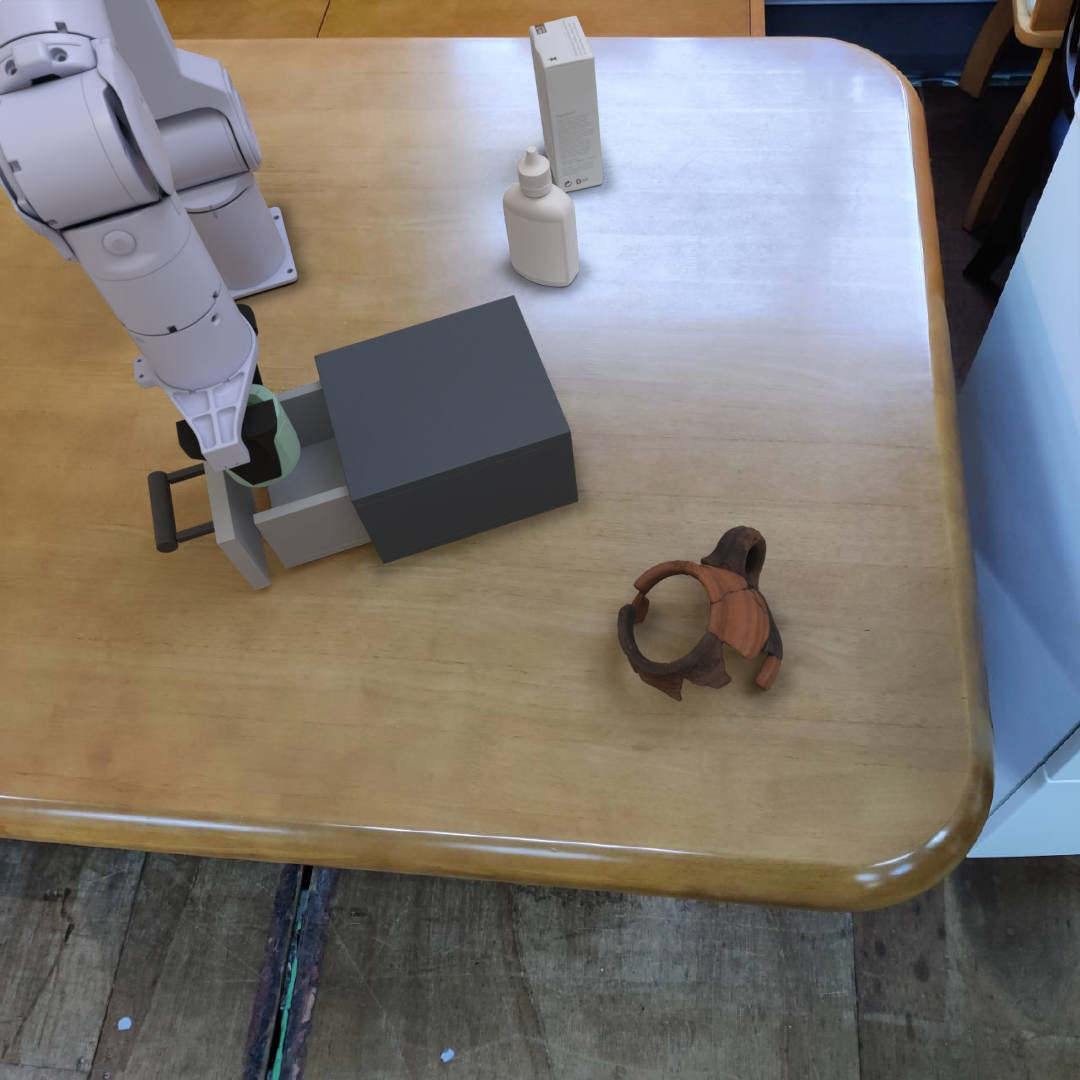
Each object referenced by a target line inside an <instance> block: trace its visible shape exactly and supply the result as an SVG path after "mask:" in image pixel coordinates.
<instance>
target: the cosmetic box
mask: <svg viewBox="0 0 1080 1080" xmlns="http://www.w3.org/2000/svg"><path fill="white" fill-rule="evenodd" d="M528 34H529V43H530V51H531V58H532V65H533V73H534V80H535V86H536V93H537V94H536V95H537V101H538V107H539V115H540V121H541V129H542V137H543V143H544V150H545V151H544V152H545V154H546V158H547V159H548V160H549V163H550V170H551V174H552V176H553V180H554V182H555V185H556V186H557V187H559V188H560V189H562V190H563V191H564V192H565V193H568V192H574V191H579V190H582V189H586V188H587V189H588V188H592V187H596V186H599V185H602V184H603V182H604V169H603V156H602V155H603V154H602V144H601V128H600V116H599V115H600V114H599V102H598V101H599V100H598V90H597V89H598V88H597V79H596V63H595V61H596V59H595V56H594V55H595V54H594V53H593V51H592V49H591V46H590V44H589V42H588V39H587V37H586V35H585V32H584V30H583V27H582V26H581V23H580V21H579V19H578V16H577V15H571V16H567V17H563V18H559V19H555V20H551V21H546V22H543V23H537V24H535V25H531V26H529V28H528Z"/></svg>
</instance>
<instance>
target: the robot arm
mask: <svg viewBox="0 0 1080 1080" xmlns="http://www.w3.org/2000/svg"><path fill="white" fill-rule="evenodd" d="M262 162H263V155H262V151H261V147H260V143H259V140H258V138H257V135H256V131H255V128H254V126H253V123H252V120H251V118H250V115H249V112H248V110H247V108H246V105H245V102H244V99H243V97H242V96H241V93H240V92H239V90H238V89H237V88H236V87H235V85H234V82H233V79H232V77H231V76H230V73H229V71H228V69H227V68H226V67H224V66H223V65H222V62H221V61H220V60H219V59H216V58H214V57H211V56H207V55H204V54H200V53H196V52H193V51H189V50H185V49H183V48H180V47H177V46H176V43H175V42H174V39H173V37H172V35H171V33H170V30H169V27H168V26H167V24H166V21H165V19H164V17H163V14H162V12H161V10H160V8H159V5H158V4H157V1H156V0H0V187H1V188H2V190H3V192H4V194H5V195H6V196H7V198H8V200H9V201H10V203H11V205H12V207H13V208H14V211H15V212H16V213H17V215H18V216H19V217H20V218H21V220H22V221H23V222H24V223H25V224H26V225H27V226H28V227H29V228H30V229H31V231H33V232H35V233H36V234H37V235H40V236H42V237H44V238H45V239H47V240H48V242H50V244H51V245H52V247H54V249H55V250H56V251H57V253H58V254H59V255H60V257H61V258H62V260H63V261H64V260H66V262H72V263H78V264H79V265H80V267H81V268H82V270H83V271H84V273H85V274H86V275H87V277H88V278H89V280H90V281H91V283H92V284H93V285H94V287H95V288H96V290H97V291H98V293H99V294H100V296H101V297H102V298H103V300H104V301H105V302H106V304H107V305H108V307H109V309H110V310H111V311H112V313H113V314H114V316H115V317H116V318H117V320H118V321H119V323H120V324H121V326H122V327H123V328H124V330H125V331H126V332H127V334H128V335H129V337H130V338H131V340H132V341H133V343H134V344H135V346H136V347H137V348H138V350H139V352H140V353H141V354H140V355H138V356H136V357H135V358H134V360H133V362H132V367H133V375H134V380H135V381H136V382H137V384H138V386H139V387H140V388H141V389H144V390H145V389H146V390H147V389H151V388H154V387H158V388H161V390H163V392H164V393H165V394H166V395H167V397H168V398H169V400H170V401H171V402H172V404H173V405H174V407H175V408H176V409H177V410H178V411H177V412H179V413H180V415H181V416H182V417H183V419H181V420H178V421H176V422H175V428H176V434H177V435H176V436H177V441H178V445H179V447H180V448H181V450H182V451H183V453H184V454H185V455H186V456H187V457H188V458H190V459H191V460H195V461H203V460H204V461H208V463H209V464H210V466H211V467H212V468H213V470H214V471H215V472H220V471H223V470H226V469H229V470H230V471H232V472H233V473H235V474H236V475H238V476H239V477H241V478H242V479H243V480H245V481H246V482H248V483H250V484H251V485H257V484H260V483H263V482H266V481H269V480H272V479H276V478H279V477H281V476H282V469H281V464H280V459H279V455H278V452H277V449H276V446H275V443H274V439H275V435H276V433H277V415H276V411H275V406H274V401H273V399H270V400H267V401H263V402H260V403H257V404H254V405H250V406H247V402H248V397H249V393H250V389H251V385H252V384H256V385H262V386H264V383H263V379H262V375H261V372H260V368H259V365H258V359H259V354H260V343H259V339H258V338H259V337H258V336H259V328H258V324H257V320H256V315H255V312H254V310H253V309H252V308H251V306H250V305H248V304H246V303H236V301H235V300H238V299H241V298H244V297H247V296H251V295H254V294H258V293H261V292H264V291H268V290H271V289H274V288H279V287H280V286H285V285H287V284H288V285H289V284H291V283H294V282H296V281H297V280H298V278H299V276H298V272H297V267H296V265H295V260H294V256H293V252H292V249H291V245H290V241H289V237H288V233H287V229H286V226H285V225H286V224H285V221H284V218H283V213H282V210H281V209H280V207H279V206H272V207H269V206H268V204H267V202H266V200H265V197H264V195H263V193H262V190H261V188H260V186H259V184H258V182H257V179H256V177H255V174H254V173H253V172H257V171H259V170H260V168H261V164H262ZM246 406H247V407H246Z"/></svg>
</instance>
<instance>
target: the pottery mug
mask: <svg viewBox="0 0 1080 1080" xmlns="http://www.w3.org/2000/svg"><path fill="white" fill-rule="evenodd" d="M766 557H767V542H766V539H765V537H764V536H763V535H762V533H761V531H759V530H757V529H755V528H754V527H751V526H746V525H738V526H734V527H732V528H729V529H728V530H727V531H725V532H724V533H723V535H722V536H721V537H720V539H719V540H718V541H717V544H716V546H715V547H714V549H713V550H712V551H711V552H710V553H709V554H708V555H707V556H706V555H705V556H704V557H701V559H700V564H698V563H696V562H694V561H690V560H683V559H682V560H681V559H680V560H679V559H675V560H668V561H663V562H660V563H658V564H656V565H654V566H652V567H651V568H649V569H647V570H645V571H644V572H643V573H642V574H641V575H640V576H638V577H637V579H636V580H635V581H634V582H633V585H632V586H633V587H634V588H635V589H636V590H637V591H638V593H636V596H635V597H634V599H633V600H632V601H631V603H626V604H624V605H623V606H622V607H620V609H619V611H618V615H617V624H616V626H617V638H618V643H619V646H620V648H621V650H622V652H623V653H624V655H625V656H626V658H627V660H628V663H629V664H630V667H631V669H632V671H633V672H634V673H635V674H638V676H639V679H640V680H641V681H642V682H644V683H645V684H647V685H649V686H651V687H652V688H655V689H657V690H659V691H660V692H662V693H664V694H665V695H667V696H668V697H669V698H671V699H673V700H674V701H677V702H678V703H682V701H683V696H682V689H683V683H684V681H685V680H687V681H688V682H689V683H690V684H692V685H695V686H698V687H710V688H712V689H715V690H720V689H722V688H724V687H726V686H728V685H730V684H731V683H732V680H733V678H732V676H731V675H730V674H729V672H728V671H727V670H726V661H725V656H724V648H723V644H724V645H727V646H729V647H730V648H731V649H733V650H735V651H736V652H737V653H738V654H740V656H742V658H744V659H746V660H749V659H750V660H752V659H755V658H757V657H758V656H759V654H760V652H764V653H766V654H767V656H766V658H765V661H764V663H763V665H762V667H761V668H760V670H759V672H758V674H757V676H756V677H755V679H754V683H755V685H756V686H758V687H760V688H761V689H763V690H764V691H768V690H769V689H770V688H771V687H772V685H773V684H775V682H776V680H777V678H778V675H779V672H780V669H781V667H782V661H783V657H784V649H783V648H784V646H783V645H784V644H783V640H782V636H781V632H780V631H779V628H778V626H777V625H776V622H775V620H774V616H773V613H772V611H771V609H770V607H769V604H768V602H767V600H766V598H765V596H764V594H763V593H762V592H761V591H760V587H759V583H760V575H761V573H762V571H763V567H764V564H765V560H766ZM679 575H681V576H690V577H692V578H693V579H695V580H696V581H698V582H699V583H700V584H701V585H702V587H703V588H704V590H705V592H706V594H707V597H708V603H709V615H708V616H709V617H708V621H707V625H706V629H705V633H704V634H703V635H702V637H701V639H700V640H699V642H698V643H697V644H696V645H695V646H694V648H693V649H692V650H691V651H689V652H688V653H686V654H685V655H683V656H682V657H680V658H677V659H675V660H672V661H670V662H659V661H653V660H650V659H649V658H647V657H646V656H645V655H644V654H643V652H641V651H640V649H639V646H638V643H637V641H636V638H635V631H634V630H635V628H634V627H635V625H640V624H643V623H644V622H645V620H646V618H647V614H648V612H649V607H650V599H649V598H648V597H647V596H646V595H647V594H648V593H649V592H650V591H651V590H652V589H653V588H654V587H655V586H657V585H658V584H659V583H660V582H662V581H663V580H665V579H668V578H670V577H674V576H679Z"/></svg>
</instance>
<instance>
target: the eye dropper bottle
mask: <svg viewBox="0 0 1080 1080" xmlns="http://www.w3.org/2000/svg"><path fill="white" fill-rule="evenodd" d="M517 175H518V180H517V181H514V182H513V183H511V185H509V186H508V188H507V189H506V191H505V192H504V194H503V197H502V209H503V210H502V211H503V217H504V222H505V230H506V235H507V236H506V237H507V243H508V248H509V254H510V255H509V256H510V260H511V265H512V268H513V269H514V271H515V272H516V273H517V274H518V275H520V276H521V277H523V278H524V279H526V280H528V281H530V282H533V283H535V284H538V285H542V286H546V287H568V286H570V284H571V283H572V282H573V281H574V280H575V278H576V276H577V275H578V274H579V271H580V268H581V267H580V255H579V241H578V231H577V230H578V229H577V218H576V209H575V208H576V207H575V203H574V201H573V199H572V197H570V195H569V194H568V193H567V192H564V191H563V190H562V189H560V188H559V187H557V185H556V184H554V183H553V180H552V170H551V167H550V163H549V160H548V157H547V156H544V155H541V154H539V152H538V149H537V147H536V146H535V145H531V146H528V147H527V148H526V155H525V156H524V157H523V158H522V159H520V160H519V162H518V163H517Z"/></svg>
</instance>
